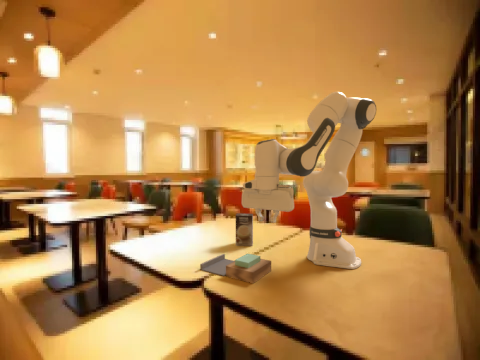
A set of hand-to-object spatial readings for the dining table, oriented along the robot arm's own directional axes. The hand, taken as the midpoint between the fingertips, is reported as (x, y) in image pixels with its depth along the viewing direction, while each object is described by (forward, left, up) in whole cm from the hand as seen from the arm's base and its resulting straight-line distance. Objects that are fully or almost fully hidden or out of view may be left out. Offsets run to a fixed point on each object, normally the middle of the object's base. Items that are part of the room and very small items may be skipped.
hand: (267, 221), depth 101 cm
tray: (+20, 0, -21) cm, 29 cm away
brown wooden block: (+8, 0, -21) cm, 23 cm away
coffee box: (+31, -32, -21) cm, 49 cm away
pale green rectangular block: (+8, 0, -17) cm, 19 cm away
